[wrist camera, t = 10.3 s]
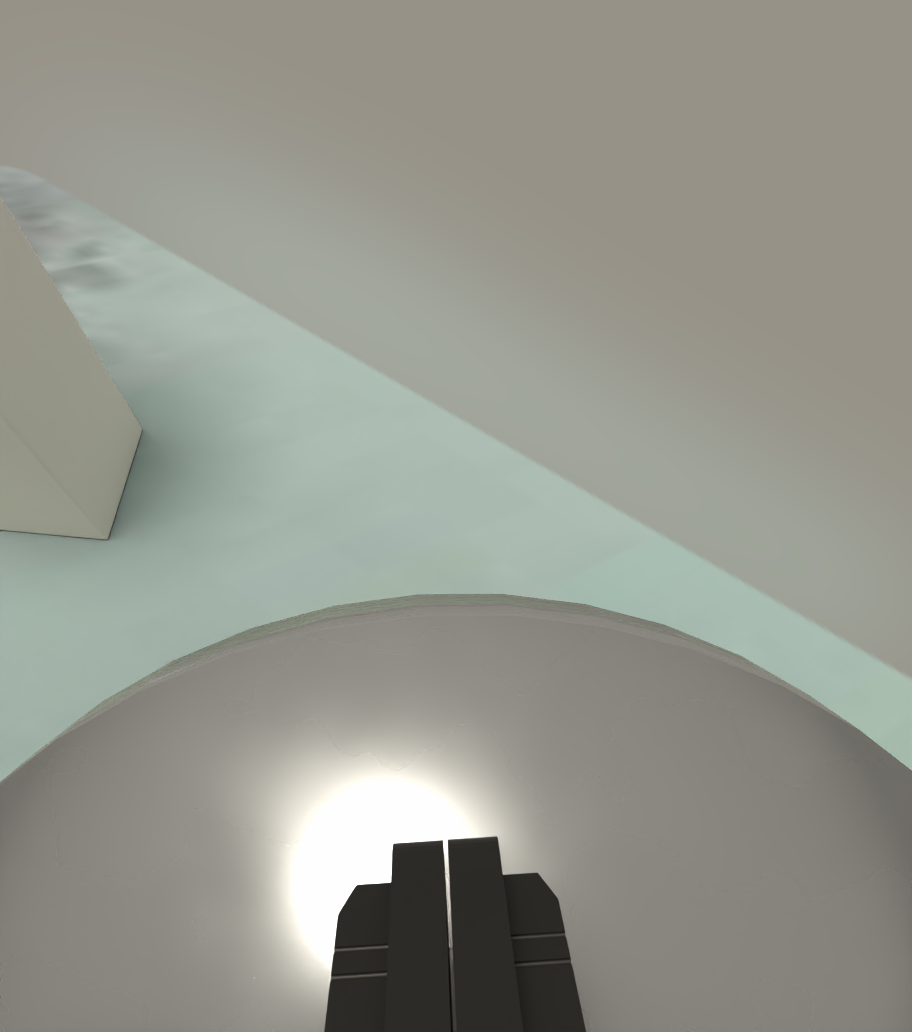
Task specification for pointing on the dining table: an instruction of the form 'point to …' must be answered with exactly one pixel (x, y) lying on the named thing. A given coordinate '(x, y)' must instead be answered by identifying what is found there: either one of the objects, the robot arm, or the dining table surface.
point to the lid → (458, 823)
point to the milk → (54, 408)
